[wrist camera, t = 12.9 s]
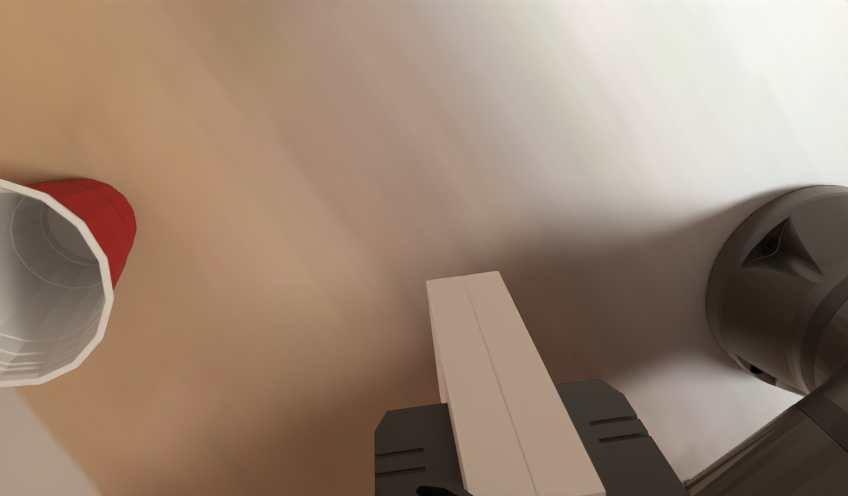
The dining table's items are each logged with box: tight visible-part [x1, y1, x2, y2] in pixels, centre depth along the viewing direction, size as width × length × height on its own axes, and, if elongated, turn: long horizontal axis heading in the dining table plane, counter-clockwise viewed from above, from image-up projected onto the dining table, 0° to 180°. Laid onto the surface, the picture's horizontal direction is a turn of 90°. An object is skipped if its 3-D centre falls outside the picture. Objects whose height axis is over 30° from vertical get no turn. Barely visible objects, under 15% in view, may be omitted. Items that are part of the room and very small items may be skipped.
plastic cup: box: [0, 178, 136, 387], centre depth 37 cm, size 11×11×12 cm
